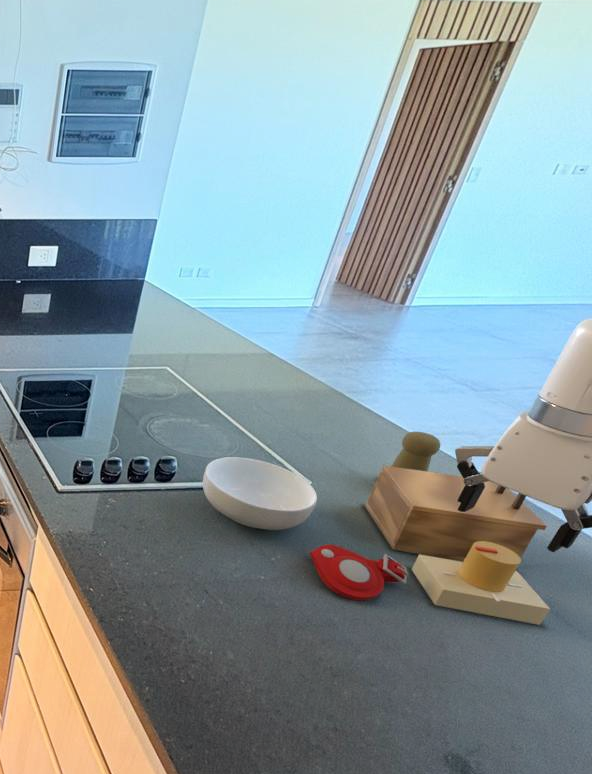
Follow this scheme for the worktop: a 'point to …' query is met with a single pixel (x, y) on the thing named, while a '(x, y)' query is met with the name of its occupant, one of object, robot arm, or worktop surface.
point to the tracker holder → (355, 572)
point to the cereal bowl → (258, 493)
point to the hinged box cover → (445, 490)
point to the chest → (436, 527)
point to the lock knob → (489, 566)
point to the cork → (417, 451)
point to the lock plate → (478, 592)
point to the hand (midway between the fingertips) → (507, 527)
